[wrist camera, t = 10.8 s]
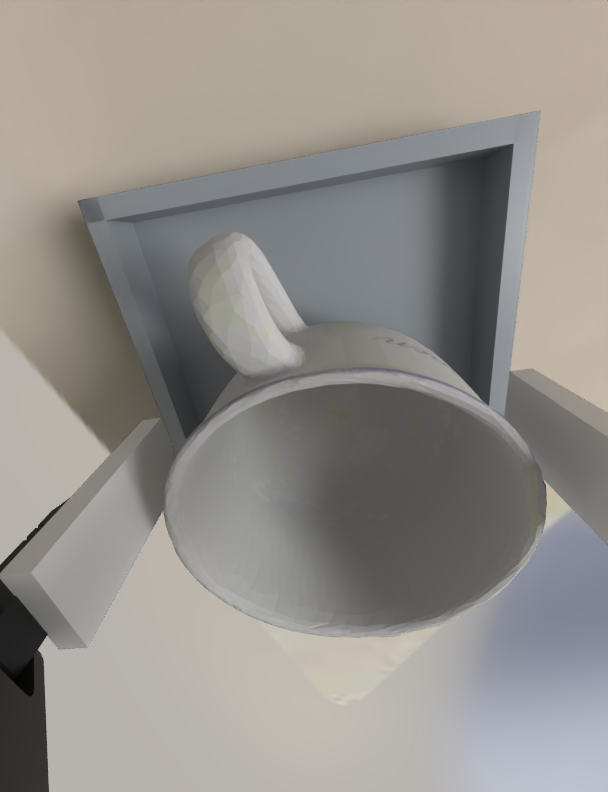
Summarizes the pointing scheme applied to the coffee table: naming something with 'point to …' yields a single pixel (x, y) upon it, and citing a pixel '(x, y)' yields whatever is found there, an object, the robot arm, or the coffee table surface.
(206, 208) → the tray
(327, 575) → the teacup
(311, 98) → the coffee table surface
